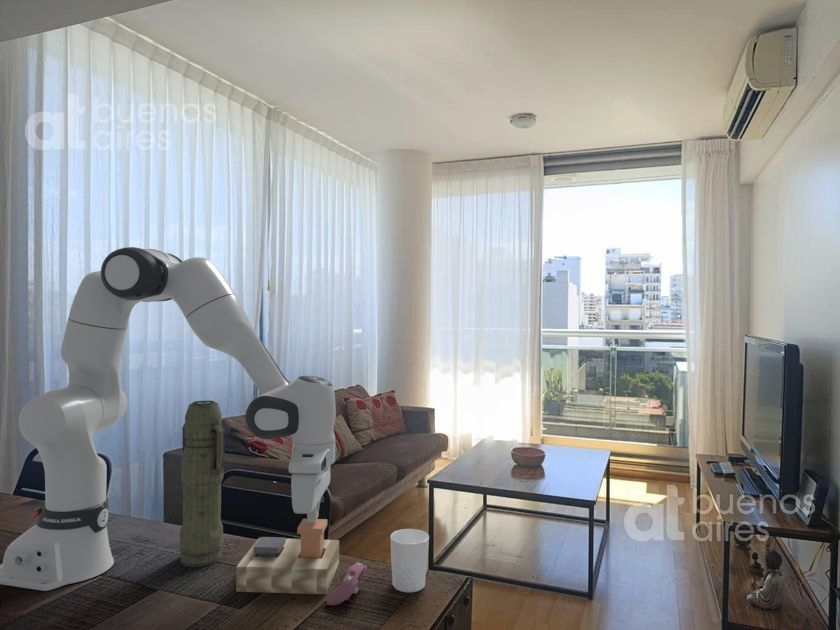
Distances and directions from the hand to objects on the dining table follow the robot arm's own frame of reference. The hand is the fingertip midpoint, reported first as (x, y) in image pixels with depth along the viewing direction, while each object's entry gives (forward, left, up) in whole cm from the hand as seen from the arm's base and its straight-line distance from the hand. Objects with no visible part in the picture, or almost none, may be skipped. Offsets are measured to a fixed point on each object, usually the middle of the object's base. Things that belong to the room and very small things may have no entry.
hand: (312, 519), depth 117 cm
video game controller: (+9, -7, -12) cm, 17 cm away
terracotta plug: (0, 0, -7) cm, 7 cm away
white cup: (+20, -2, -12) cm, 24 cm away
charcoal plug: (-9, 0, -12) cm, 15 cm away
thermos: (-27, +7, -12) cm, 30 cm away
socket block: (-5, 0, -12) cm, 13 cm away
